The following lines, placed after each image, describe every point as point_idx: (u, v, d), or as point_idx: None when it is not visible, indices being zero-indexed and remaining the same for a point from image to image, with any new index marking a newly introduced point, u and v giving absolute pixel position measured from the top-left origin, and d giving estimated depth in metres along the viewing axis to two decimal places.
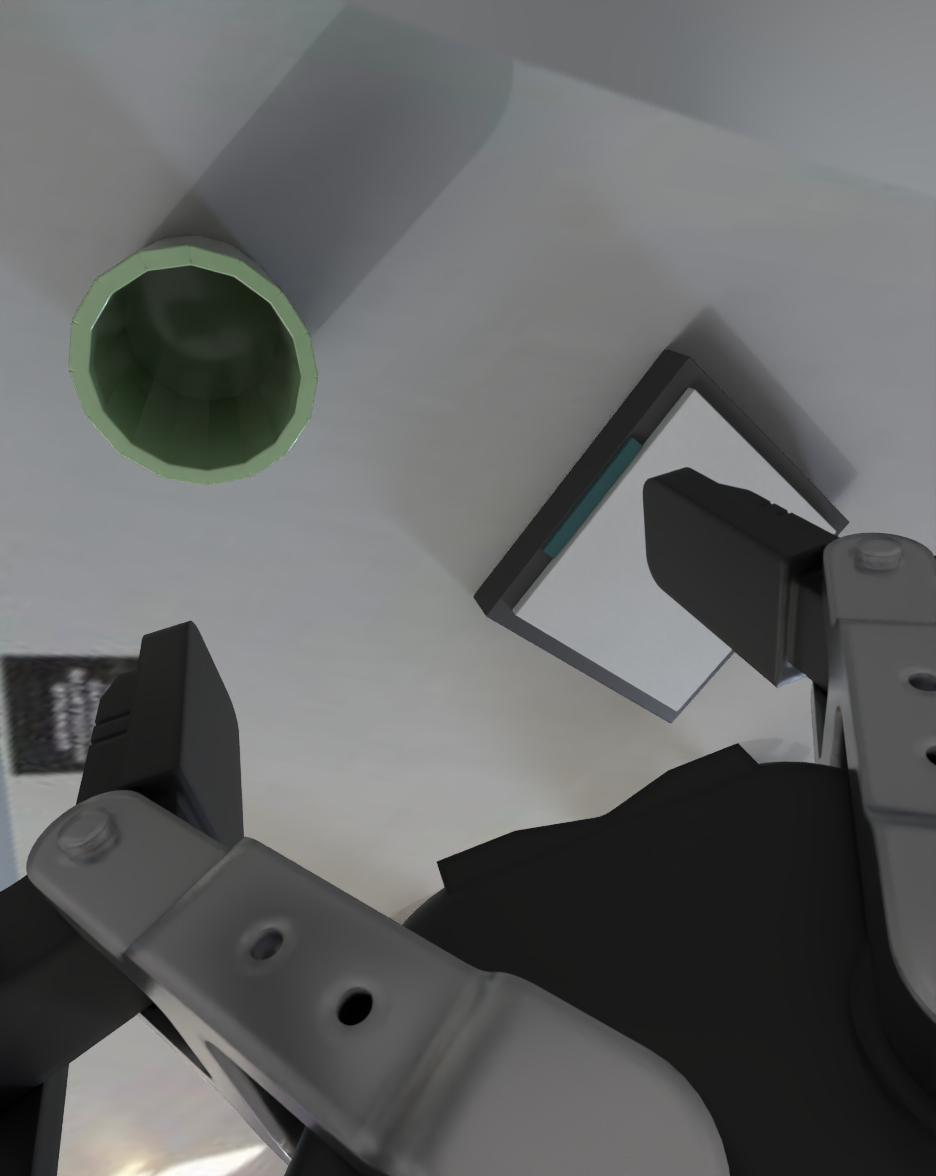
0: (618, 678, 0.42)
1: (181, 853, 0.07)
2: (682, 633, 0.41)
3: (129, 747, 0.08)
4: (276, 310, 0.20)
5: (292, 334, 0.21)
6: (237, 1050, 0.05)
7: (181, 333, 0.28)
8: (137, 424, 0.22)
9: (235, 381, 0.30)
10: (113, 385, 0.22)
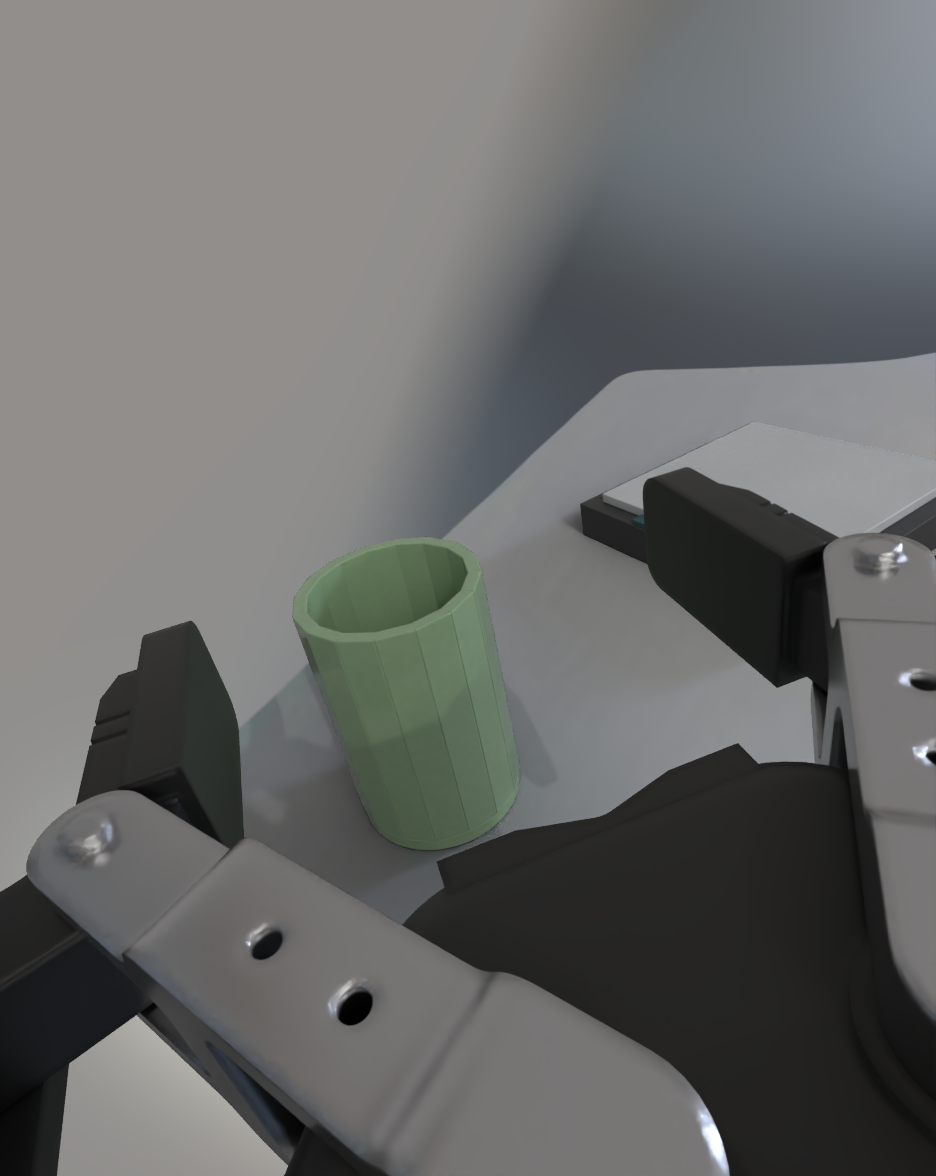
0: (918, 512, 0.37)
1: (181, 853, 0.07)
2: (852, 475, 0.40)
3: (129, 747, 0.08)
4: (373, 550, 0.27)
5: (392, 545, 0.27)
6: (237, 1050, 0.05)
7: None
8: None
9: None
10: None
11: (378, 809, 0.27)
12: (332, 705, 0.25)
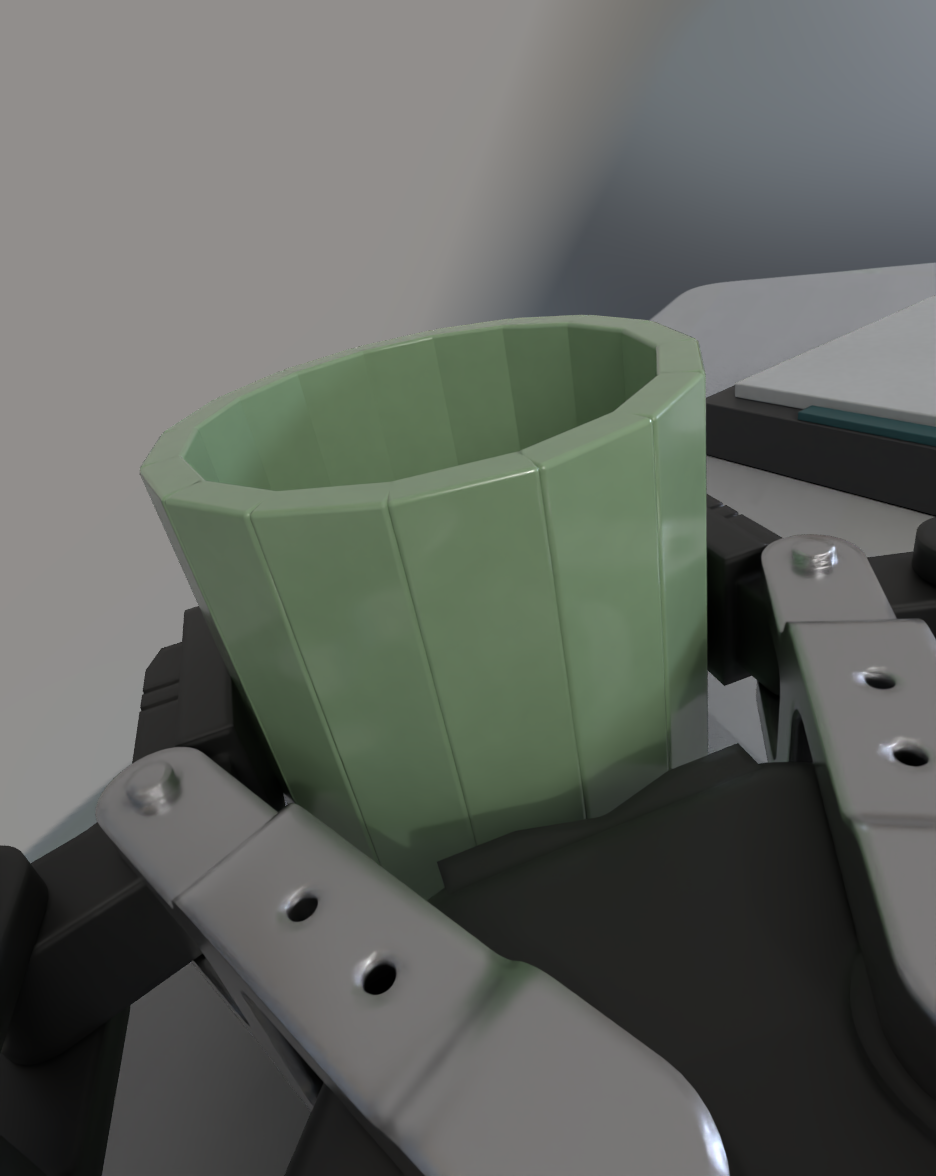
0: None
1: (243, 801, 0.07)
2: None
3: (182, 710, 0.09)
4: (379, 349, 0.11)
5: (426, 337, 0.11)
6: (266, 1004, 0.05)
7: None
8: None
9: None
10: None
11: None
12: (264, 733, 0.09)
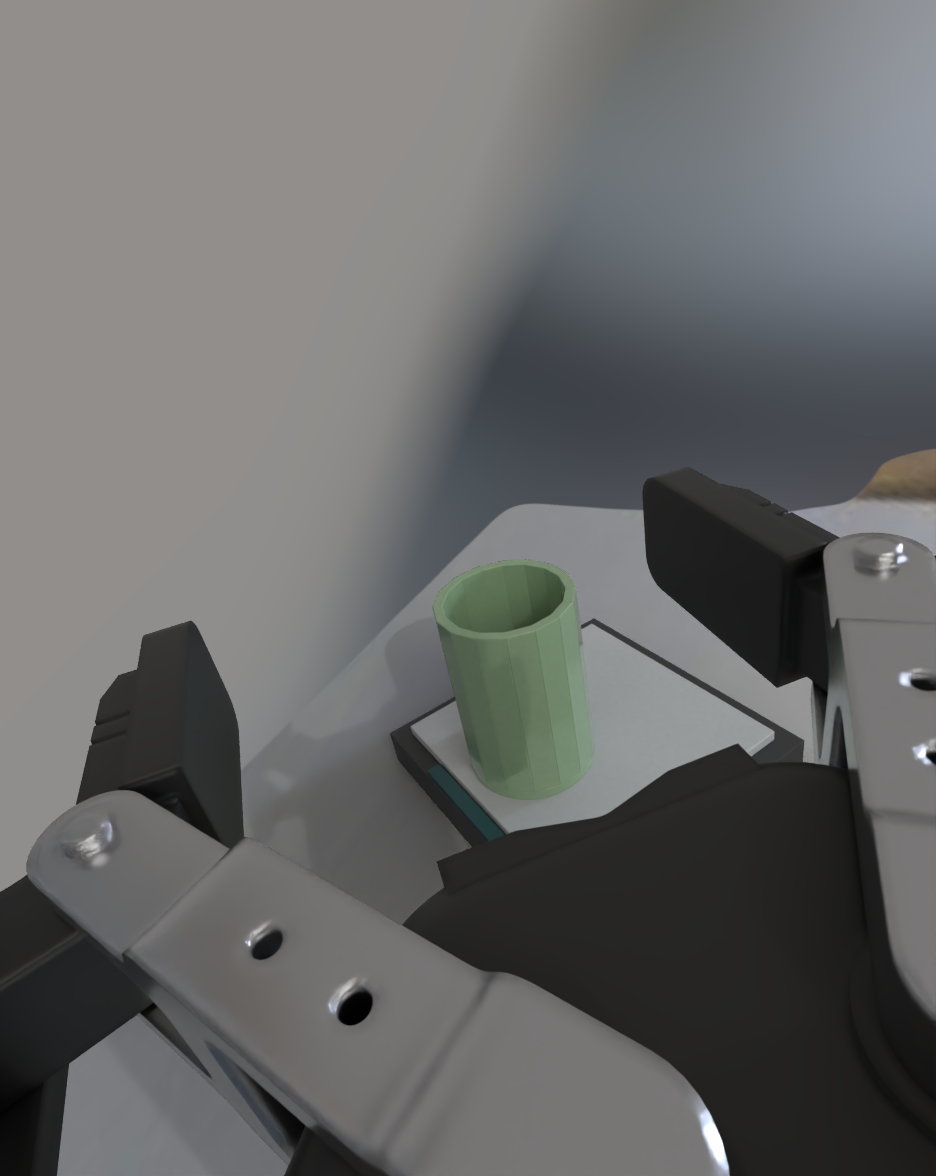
0: None
1: (181, 853, 0.07)
2: (657, 728, 0.38)
3: (129, 747, 0.08)
4: (485, 569, 0.35)
5: (500, 565, 0.35)
6: (237, 1050, 0.05)
7: None
8: None
9: None
10: None
11: (490, 768, 0.35)
12: (463, 687, 0.33)
